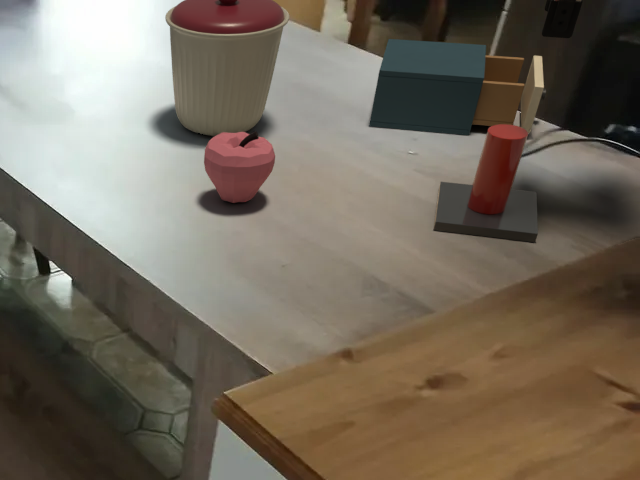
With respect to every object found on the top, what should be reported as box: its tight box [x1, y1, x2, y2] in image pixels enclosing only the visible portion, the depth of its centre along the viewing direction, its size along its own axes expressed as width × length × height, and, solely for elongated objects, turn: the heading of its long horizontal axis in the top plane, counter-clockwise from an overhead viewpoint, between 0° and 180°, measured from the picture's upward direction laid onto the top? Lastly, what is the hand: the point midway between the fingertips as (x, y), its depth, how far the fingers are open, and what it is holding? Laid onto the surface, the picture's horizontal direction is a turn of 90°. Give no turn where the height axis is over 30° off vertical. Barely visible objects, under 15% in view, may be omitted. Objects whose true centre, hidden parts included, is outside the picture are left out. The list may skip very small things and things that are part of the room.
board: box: [433, 181, 539, 243], centre depth 121 cm, size 12×12×1 cm
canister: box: [164, 0, 290, 137], centre depth 141 cm, size 18×18×21 cm
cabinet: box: [368, 38, 487, 136], centre depth 144 cm, size 15×15×9 cm
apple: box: [203, 130, 276, 204], centre depth 125 cm, size 10×9×10 cm
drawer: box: [472, 54, 547, 134], centre depth 141 cm, size 15×13×7 cm
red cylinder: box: [468, 124, 529, 214], centre depth 117 cm, size 5×5×10 cm
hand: (557, 23), depth 111 cm, fingers open, 9 cm apart
